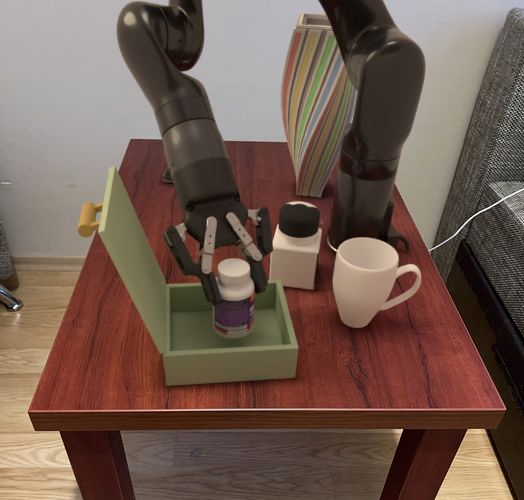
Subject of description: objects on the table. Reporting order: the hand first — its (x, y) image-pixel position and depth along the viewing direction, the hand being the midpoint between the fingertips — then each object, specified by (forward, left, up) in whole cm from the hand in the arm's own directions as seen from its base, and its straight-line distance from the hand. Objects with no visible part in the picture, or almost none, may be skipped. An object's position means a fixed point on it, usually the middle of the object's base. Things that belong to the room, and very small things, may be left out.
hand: (239, 297), depth 68 cm
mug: (-19, -5, -9) cm, 22 cm away
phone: (+6, -57, -9) cm, 58 cm away
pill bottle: (+1, -2, -6) cm, 7 cm away
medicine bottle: (-10, -17, -9) cm, 22 cm away
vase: (-18, -46, -9) cm, 50 cm away
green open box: (+2, -2, -9) cm, 9 cm away
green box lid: (+12, -2, +5) cm, 13 cm away
